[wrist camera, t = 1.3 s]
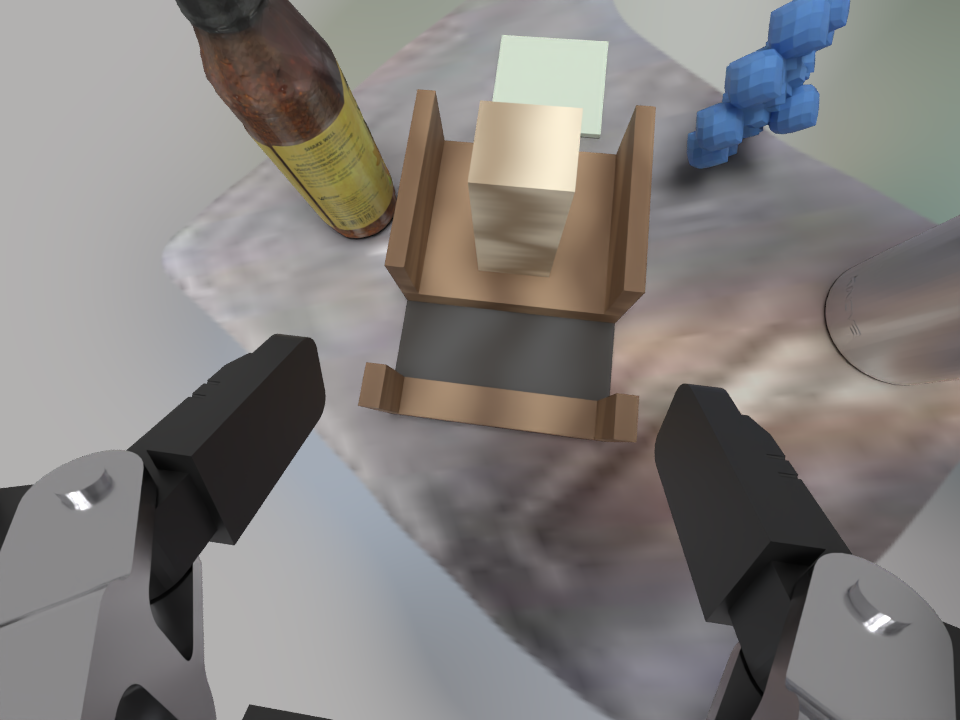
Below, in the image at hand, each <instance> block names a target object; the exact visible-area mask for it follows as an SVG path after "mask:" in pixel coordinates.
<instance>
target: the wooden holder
mask: <svg viewBox="0 0 960 720" xmlns="http://www.w3.org/2000/svg"><path fill="white" fill-rule="evenodd" d="M655 110H656V107H652V106H638V105H636V108H635V110H634V112H633V115H632V117H631V120H630V122H629V125H628V127H627V130H626V132H625V134H624V137H623V139H622V142H621V144H620V147H619V149H618V151H617V154H616V155H615V154H603V153H591V152H579V155H578V165H577V176H576V186H575V193H574V197H573V200H572V203H571V206H570V210H569V213H568V216H567V220H566V223H565V226H564V229H563V233H562V236H561V239H560V243H559V246H558V249H557V252H556V256H555V259H554V262H553V266H552V269H551V272H550V275H549V278H548V277H538V276H529V275H519V274H510V273H500V272H490V271H481V270H478V261H477V253H476V245H475V237H474V229H473V221H472V213H471V205H470V197H469V188H468V177H469V171H470V164H471V158H472V151H473V145H474V143H468V142H456V141H445V140H444V135H443V129H442V124H441V118H440V113H439V107H438V102H437V96H436V91H432V90H417V95H416V101H415V106H414V111H413V117H412V122H411V127H410V133H409V138H408V143H407V148H406V154H405V159H404V164H403V170H402V175H401V180H400V186H399V191H398V196H397V201H396V207H395V212H394V217H393V223H392V228H391V233H390V239H389V244H388V249H387V254H386V260H385V267H386V268H387V270H388V271H389V273H390V274H391V276H392V277H393V279H394V281H395V282H396V284H397V285H398V287H399V288H400V290H401V291H402V293H403V294H404V296H405V297H406V299H407V306H406V312H405V318H404V323H403V329H402V335H401V341H400V346H399V352H398V358H397V364H396V369H395V370H394V369H392V368H391V367H389V366H388V365H384V364H376V363H368V362H366V366H365V371H364V376H363V382H362V387H361V392H360V398H359V403H358V406H362V407H366V408H370V409H374V410H378V411H383V412H387V413H392V414H400V415H407V416H415V417H422V418H430V419H438V420H445V421H453V422H460V423H468V424H475V425H483V426H491V427H498V428H506V429H513V430H521V431H528V432H536V433H543V434H551V435H559V436H566V437H574V438H581V439H589V440H596V441H604V442H636V440H637V423H638V405H639V396H635V395H627V394H619V393H616V394H614V395H611V396H610V382H611V368H612V354H613V340H614V326H615V323H616V322H617V320H618V319H619V318H620V317H621V316H622V315H623V314H624V313H625V312H626V311H627V310H628V309H629V308H630V307H631V306H632V305H633V304H634V303H635V302H636V301H637V300H638V299H639V298H640V297H641V296H642V295H643V294H644V293H645V284H646V266H647V249H648V232H649V214H650V197H651V179H652V162H653V145H654V127H655Z"/></svg>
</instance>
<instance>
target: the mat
mask: <svg viewBox="0 0 960 720" xmlns="http://www.w3.org/2000/svg"><path fill="white" fill-rule="evenodd" d="M607 52H608V42H606V41H590V40H574V39H557V38H541V37H525V36H509V35H502V39H501V46H500V53H499V60H498V67H497V73H496V80H495V87H494V94H493V101H492V102H506V103H519V104H533V105H546V106H560V107H573V108H583V114H582V124H581V134H580V137H590V138H599V137H600V133H601V122H602V110H603V98H604V87H605V75H606V64H607Z"/></svg>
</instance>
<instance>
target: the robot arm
mask: <svg viewBox="0 0 960 720" xmlns="http://www.w3.org/2000/svg"><path fill="white" fill-rule="evenodd" d="M825 314H826V321H827V327H828V330H829V332H830V335H831V338H832V340H833V342H834V343H835V345H836V346H837V348H838V350H839V351H840V352H841V354H842V355H843V356H844V357H845V358H846V359H847V360H848V361H849V362H850V363H851V364H852V365H854V366H855V367H856V368H858V369H859V370H860V371H862V372H863V373H865V374H867V375H869V376H871V377H873V378H875V379H877V380H880V381H884V382H887V383H890V384H898V385H916V384H925V383H933V382H940V381H948V380H956V379H960V215H959V216H956V217H954V218H952V219H950V220H948V221H946V222H944V223H942V224H940V225H938V226H936V227H934V228H932V229H930V230H928V231H926V232H924V233H922V234H920V235H918V236H915V237H913V238H911V239H909V240H907V241H905V242H903V243H901V244H899V245H897V246H895V247H893V248H891V249H889V250H886V251H884V252H882V253H880V254H878V255H876V256H874V257H872V258H870V259H868V260H866V261H864V262H862V263H860V264H858V265H856V266H854V267H852V268H851V269H849V270H847V271H846V272H845V273H843V274H842V275H841V276H840V277H839V278H838V279H837V280H836V282H835V283H834V285H833V286H832V288H831V289H830V292H829V295H828V298H827V301H826V313H825ZM325 397H326V396H325V388H324V383H323V378H322V373H321V367H320V362H319V357H318V352H317V347H316V344H315V342H314V340H313V339H311V338H308V337H300V336H292V335H283V334H274V335H272V336H271V337H270V338H269V339H268V340H266V341H265V342H264V343H263V344H262V345H261V346H260V347H259V348H258V349H257V350H255V351H254V352H253V353H248V354H246V355H244V356H242V357H240V358H238V359H236V360H234V361H232V362H230V363H228V364H226V365H225V366H224V367H222V368H221V369H220V370H219V371H218V372H217V373H216V374H214V375H213V376H212V377H211V378H210V379H208V382H207V384H203V385H201V386H200V387H199V388H198V389H197V390H196V391H195V392H193V395H192V397H188V398H187V399H185V400H184V401H183V402H182V403H181V404H180V405H178V406H177V407H176V408H175V409H174V410H173V411H172V412H170V413H169V414H168V415H167V416H166V417H164V418H163V419H162V420H161V421H160V422H159V423H158V424H157V425H155V426H154V427H153V428H152V429H151V430H150V431H148V432H147V433H146V434H145V435H144V436H143V437H141V438H140V439H139V440H138V441H137V442H136V443H134V444H133V445H132V446H131V447H130V448H129V449H127V450H126V451H125V450H109V451H101V452H97V453H92V454H89V455H86V456H82V457H80V458H77V459H75V460H72V461H70V462H68V463H66V464H64V465H62V466H60V467H58V468H56V469H54V470H53V471H51V472H50V473H48V474H47V475H45V476H44V477H42V478H41V479H40V480H39V481H37V482H36V483H35V484H34V485H25V486H17V487H9V488H0V720H216V712H215V706H214V701H213V697H212V693H211V690H210V687H209V684H208V681H207V677H206V672H205V664H204V632H203V589H202V563H201V560H200V558H199V554H200V553H201V551H202V550H203V549H204V548H205V546H206V545H207V543H208V542H209V541H210V542H216V543H223V544H229V545H235V544H236V542H237V541H238V539H239V538H240V536H241V535H242V533H243V532H244V530H245V529H246V527H247V526H248V525H249V523H250V521H251V520H252V519H253V517H254V516H255V514H256V513H257V511H258V509H259V508H260V507H261V505H262V504H263V502H264V501H265V499H266V498H267V496H268V495H269V493H270V492H271V490H272V489H273V487H274V486H275V484H276V483H277V481H278V480H279V478H280V477H281V476H282V474H283V473H284V471H285V470H286V468H287V467H288V465H289V464H290V462H291V461H292V459H293V458H294V456H295V455H296V453H297V452H298V450H299V449H300V447H301V446H302V444H303V443H304V441H305V440H306V438H307V437H308V435H309V434H310V433H311V431H312V430H313V428H314V427H315V425H316V424H317V422H318V421H319V419H320V417H321V415H322V413H323V410H324V406H325ZM655 462H656V466H657V469H658V473H659V476H660V479H661V482H662V485H663V488H664V492H665V495H666V498H667V501H668V504H669V507H670V510H671V514H672V517H673V520H674V523H675V526H676V529H677V533H678V536H679V539H680V542H681V545H682V548H683V551H684V555H685V558H686V561H687V564H688V567H689V570H690V573H691V577H692V580H693V583H694V586H695V589H696V592H697V596H698V599H699V602H700V605H701V608H702V611H703V614H704V618H705V621H706V622H712V623H718V624H725V625H731V626H733V627H734V629H735V632H736V635H737V638H738V640H739V642H738V643H737V644H736V645H735V646H734V648H733V650H732V652H731V654H730V657H729V660H728V662H727V665H726V668H725V670H724V673H723V675H722V678H721V681H720V683H719V686H718V689H717V691H716V694H715V697H714V699H713V702H712V705H711V707H710V710H709V713H708V715H707V718H706V720H960V629H959V628H957V627H955V626H952V625H950V624H947V623H945V622H942V621H941V619H940V618H939V617H938V615H937V614H936V612H935V611H934V610H933V609H932V608H931V606H930V605H929V604H928V603H927V602H926V601H925V600H924V599H923V598H922V597H921V596H920V595H919V594H918V593H917V592H916V591H915V590H913V589H912V588H911V587H910V586H909V585H908V584H906V583H905V582H904V581H902V580H901V579H900V578H898V577H897V576H895V575H894V574H892V573H891V572H889V571H887V570H886V569H884V568H882V567H880V566H879V565H877V564H875V563H873V562H870V561H868V560H866V559H863V558H861V557H857V556H854V555H852V553H851V552H850V550H849V549H848V547H847V546H846V544H845V543H844V542H843V540H842V539H841V537H840V536H839V534H838V533H837V531H836V530H835V528H834V527H833V525H832V524H831V522H830V521H829V520H828V518H827V517H826V515H825V514H824V512H823V511H822V509H821V508H820V506H819V505H818V503H817V502H816V500H815V499H814V498H813V496H812V495H811V493H810V492H809V490H808V489H807V487H806V486H805V484H804V483H803V481H802V480H801V479H798V478H797V476H798V474H797V473H796V471H795V470H794V468H793V467H792V465H791V464H790V462H789V461H787V460H785V455H784V454H783V452H782V451H781V449H780V448H779V446H778V445H777V443H776V442H775V440H774V439H773V437H772V436H771V435H770V434H769V433H768V432H767V431H766V430H764V429H763V428H762V427H761V426H760V425H758V424H757V423H756V422H755V421H754V420H753V419H751V418H750V417H749V416H748V415H741V413H740V412H739V410H738V409H737V407H736V405H735V404H734V402H733V401H732V399H731V398H730V396H729V394H728V393H727V392H726V390H724V389H723V388H718V387H709V386H701V385H693V384H682V385H680V387H679V388H678V389H677V391H676V393H675V395H674V398H673V400H672V402H671V405H670V407H669V409H668V412H667V414H666V416H665V419H664V421H663V423H662V426H661V428H660V430H659V433H658V435H657V438H656V443H655ZM242 720H331V719H326V718H321V717H315V716H310V715H304V714H299V713H293V712H288V711H282V710H277V709H271V708H265V707H261V706H255V705H249V707H248V709H247V711H246V713H245V715H244V717H243V719H242Z"/></svg>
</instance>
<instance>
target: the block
mask: <svg viewBox="0 0 960 720" xmlns="http://www.w3.org/2000/svg"><path fill="white" fill-rule="evenodd" d="M582 114H583V108H573V107H560V106H546V105H533V104H519V103H506V102H492V101H480V106H479V112H478V119H477V125H476V132H475V138H474V145H473V151H472V158H471V164H470V171H469V177H468V188H469V197H470V205H471V213H472V221H473V229H474V237H475V245H476V253H477V261H478V270H481V271H490V272H500V273H510V274H519V275H529V276H538V277H548V278H549V275H550V272H551V269H552V266H553V262H554V259H555V256H556V252H557V249H558V246H559V243H560V239H561V236H562V233H563V229H564V226H565V223H566V220H567V216H568V213H569V210H570V206H571V203H572V200H573V197H574V193H575V186H576V176H577V165H578V155H579V145H580V134H581V124H582Z"/></svg>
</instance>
